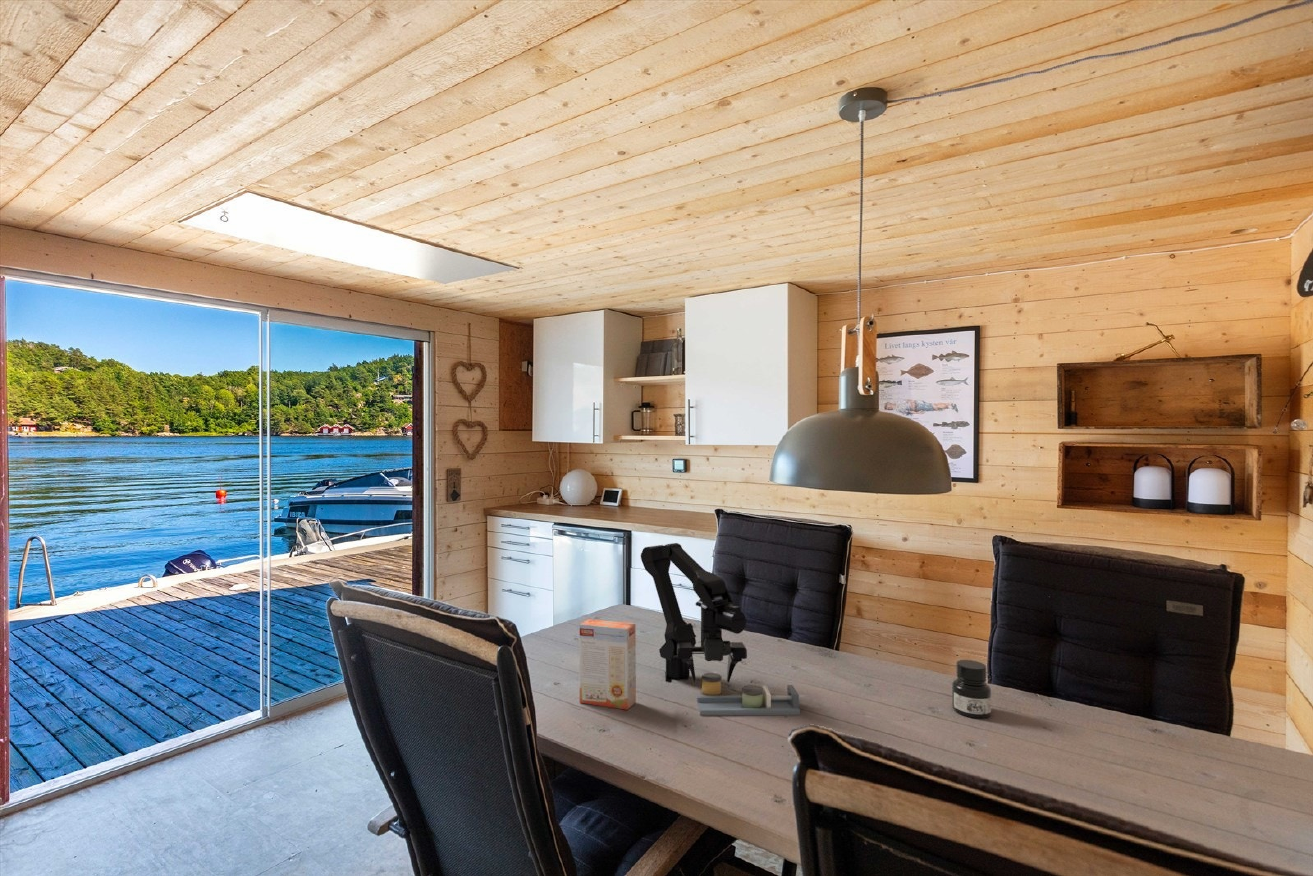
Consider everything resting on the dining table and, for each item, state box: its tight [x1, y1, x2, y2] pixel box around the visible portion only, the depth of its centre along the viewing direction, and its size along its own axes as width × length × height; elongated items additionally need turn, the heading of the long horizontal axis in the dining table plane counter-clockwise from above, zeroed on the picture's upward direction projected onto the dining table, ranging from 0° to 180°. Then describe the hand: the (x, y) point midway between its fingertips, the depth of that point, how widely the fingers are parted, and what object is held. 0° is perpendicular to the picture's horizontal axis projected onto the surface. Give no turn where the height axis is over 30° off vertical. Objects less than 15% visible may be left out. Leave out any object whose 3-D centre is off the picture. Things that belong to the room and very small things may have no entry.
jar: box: [701, 672, 722, 696], centre depth 169 cm, size 5×5×5 cm
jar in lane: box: [741, 684, 763, 708], centre depth 159 cm, size 5×5×5 cm
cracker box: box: [578, 618, 637, 711], centre depth 163 cm, size 14×6×21 cm, turn 69°
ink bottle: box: [951, 659, 992, 719], centre depth 158 cm, size 10×9×12 cm
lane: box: [696, 684, 801, 716], centre depth 159 cm, size 25×9×5 cm, turn 91°
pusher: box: [761, 685, 813, 708], centre depth 159 cm, size 12×6×4 cm, turn 91°
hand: (711, 682), depth 169 cm, fingers open, 9 cm apart
